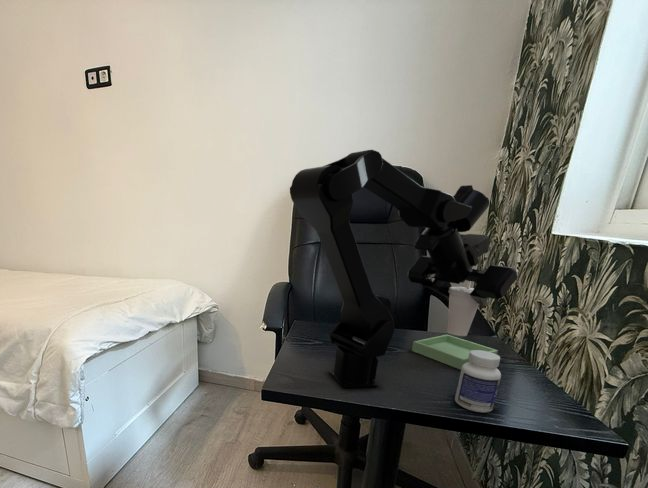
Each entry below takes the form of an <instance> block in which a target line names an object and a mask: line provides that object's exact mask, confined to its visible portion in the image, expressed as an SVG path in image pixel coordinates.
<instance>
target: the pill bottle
mask: <svg viewBox="0 0 648 488" xmlns="http://www.w3.org/2000/svg"><path fill="white" fill-rule="evenodd" d="M468 358H469V359H468V360H469V362H468V363H465V364H463V366H462V368H461V370H460V373H459V378H458V383H457V388H456V391H455V396H454V401H455V403H456V404H457V405H458V406H459V407H462V408H464V409H466V410H469V411H471V412H475V413H483V414H484V413H490V412H492V411H493V410H494V406H495V402H496V399H497V394H498V390H499V387H500V382H501V379H502V373H501V371H500V370H499V369H498V367H499V365H500V362H501V356H500V355H499V354H497V355H496V354H494V353H491V352H487V351H482V350H472V351H470V353H469V357H468Z"/></svg>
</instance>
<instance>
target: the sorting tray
mask: <svg viewBox="0 0 648 488" xmlns="http://www.w3.org/2000/svg"><path fill="white" fill-rule="evenodd" d="M472 350H482V351H487V352H491V353H494V354H496V355H498V352H499V350H498V349H495V348H492V347H489V346H485V345H482V344H479V343H475V342H473V341H470V340H466V339H463V338H460V337H458V336H455V335H452V334H443V335H439V336H433V337H428V338H424V339H419V340H414V341H413V342H412V348H411V352H413V353H417V354H419V355H420V356H423V357H426V358H429V359H431V360H434V361H436V362H440V363H442V364H444V365H447V366H449V367H452V368H455V369H457V370H459V371H461V368H462V366H463V364H465V363H468V362H469V360H468V359H469V358H468V357H469V353H470V351H472Z"/></svg>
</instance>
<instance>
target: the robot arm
mask: <svg viewBox="0 0 648 488" xmlns="http://www.w3.org/2000/svg"><path fill="white" fill-rule="evenodd" d="M363 188H364V189H365V190H368V191H369V192H371V193H372V194H373V195H376V196H377V197H379V198H380V199H381V200H384V201H385V202H386V203H388V204H390V205H391V206H393V207H394V208H395V209H396V210H398V217H399V218H400V219H401V220H402V221H403V222H404V223H405V225H407V226H408V227H411V228H420V229H424V230H423V231H422V233H420V234H418V238H417V240H416V241H415V242H414V247H413V248H414V249H415V250H424V251H427V253H428V255H429V256H427V255H420V256H419V257H418V258H417V260H416V261H415V262H414V263H413V265H411V267H410V268H409V269H408V270H407V278H408V279H409V281H410V283H415V284H419V285H421V286H423V287H425V288H427V289H430V290H432V291H434V292H435V293H437V294H439V295H441V296H443V297H445V298H447V299H449V296H450V293H449V292H448V291H449V288H450V287H453V285H452V284H455V285H456V284H457V285H460V284H463V283H465V282H466V281H467V282H468V281H471V282H472V283H474V285H475V287H473V288H474V290H473V291H472V292H471V294H470V296H471V297H472V298H473V299H474V300H475V301H476V302H477V303H478V304H479V306H480V307H482V308H484V307H485V306H486V305H487V304H488V300H489V299H493V300H500V299H503V297H504V296H506V294H507V292H508V291H509V290H510V288H511V287H512V286H513V284H514V283H515V282H516V281H517V279H518V278H519V277H518V272H517V270H516V268H515V267H513V266H506V265H505V266H504V265H496V264H490V265H489V266H488V267H487V268H483V269H476V268H473V267H477V265H478V264H479V263H480V259H479V258H480V257H481V256H483V255H484V254H486V253H489V251H490V248H489V247H490V245H489V244H490V243H489V235H487V234H478V233H477V234H475V233H466V232H469V231H470V230H472V228H473V227H474V226H475V224H476V223H477V221H478V220H479V219H480V218H481V217H482V215H483V214H484V213H485V212H486V210H487V209H488V208H489V206H490V199H489V197H487V196H486V194H484V193H483V192H481V191H479V190H477V189H474V187H473V185H472V184H470V185H468V184H467V185H460V186H459V188H458V189H457V190H456V192H455V193H454V195H452V194H451V193H449V192H445V191H443V190H440V189H434V188H430V187H429V188H428V187H425V186H423V185H420V184H419V183H418V182H416V181H415V180H413V178H412V177H410V176H408V175H407V174H406V173H404V172H403V171H401V170H399V169H398V168H397V167H396V166H394V165H393V164H391V163H390V162H389V161H387V160H386V159H384V158H383V156H382V154H381V153H380V152H379V151H377V150H375V149H365V150H361V151H355V152H351V153H349V154H347V155H346V156H344V157H342V158H340V159H338V160H335V161H333V162H330V163H328V164H325V165H322V166H317V167H310V168H309V167H308V168H304V169H301V170H299V171H298V172H297V173H296V174H295V175H294V178H293V179H292V182H291V185H290V187H289V194H290V198H291V201H292V203H293V204H294V207H295V208H296V209H297V211H298V212H299V215H300V216H301V217H302V218H303V219H304V220H305V222H307V223H308V224H309V225H310V226H311V227H312V228H313V229H315V231H316V233H317V235H318V238H319V241H320V244H321V246H322V248H323V251H324V254H325V256H326V258H327V261H328V264H329V266H330V269H331V272H332V274H333V277H334V280H335V282H336V285H337V288H338V291H339V293H340V295H341V298H342V303H343V304H342V307H341V309H340V321H338V323H337V324H336V325H335V326H334V327H333V329H332V330H331V331H330V332H329V339H330V344H332V345H336V352H335V358H334V359H335V360H334V367H333V369H331V370H330V371H329V374H330V376H332V378H333V379H335V381H336V382H337V383H338V384H339V385H340V387H341V388H343V389H361V388H362V389H363V388H365V389H366V388H377V387H378V383H377V382H376V381H375V379H376V378H377V370H378V365H379V359H378V357H379V358H380V357H382V356H383V357H384V356H385V355H386V352H387V350H388V347H389V345H390V342H391V340H392V338H393V335H394V333H395V326H396V325H395V318H396V317H397V316H396V315H395V314H394V312H393V311H394V310H393V308H392V302H391V301H390V299H389V298H388V297H384V296H380V295H376V294H374V292H373V288H372V286H371V283H370V280H369V277H368V273H367V270H366V268H365V265H364V261H363V258H362V256H361V252H360V250H359V246H358V244H357V241H356V237H355V234H354V232H353V229H352V225H351V223H350V222H351V221H350V216H351V211H352V209H353V205H354V195H353V194H354V193H356V192H358V191H360V190H361V189H363ZM461 233H462V234H461ZM464 233H466V234H464ZM354 337H355V338H354ZM356 338H357V339H356ZM358 339H359V340H358ZM360 340H361V341H360ZM363 341H364V342H363Z"/></svg>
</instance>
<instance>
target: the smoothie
mask: <svg viewBox="0 0 648 488" xmlns="http://www.w3.org/2000/svg"><path fill="white" fill-rule="evenodd" d="M471 286H472V281H467V285H466V286H452V287H450V288H449V291H448V292H449V293H450V296H449V298H448V313H447V328H446V332H447V334H449V335H451V336H456V337H466V336H468V334H469V332H470V328H471V326H472V323H473V321H474V318H475V316H476V314H477V310H478V308H479V306H480V305H479V304H478V303H477V302H476V301H475V300H474V299H473V298H472V297H471V296H470V294H471V292H472V291H473V290H474V288H475V287H471Z"/></svg>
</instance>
